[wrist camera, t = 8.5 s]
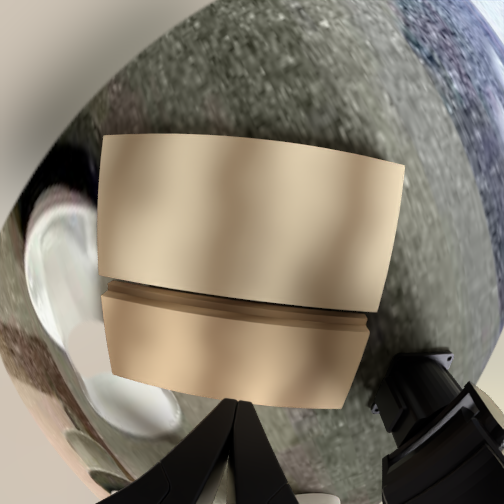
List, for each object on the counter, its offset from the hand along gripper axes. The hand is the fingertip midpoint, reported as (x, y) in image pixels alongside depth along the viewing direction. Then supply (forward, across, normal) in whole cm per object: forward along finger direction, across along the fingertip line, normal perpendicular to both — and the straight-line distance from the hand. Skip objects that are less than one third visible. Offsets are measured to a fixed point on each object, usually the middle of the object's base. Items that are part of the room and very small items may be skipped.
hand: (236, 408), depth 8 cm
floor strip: (+11, +1, +5) cm, 12 cm away
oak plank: (+11, +2, -4) cm, 12 cm away
